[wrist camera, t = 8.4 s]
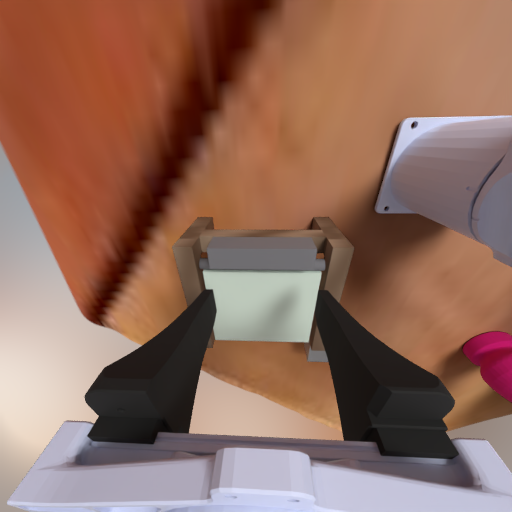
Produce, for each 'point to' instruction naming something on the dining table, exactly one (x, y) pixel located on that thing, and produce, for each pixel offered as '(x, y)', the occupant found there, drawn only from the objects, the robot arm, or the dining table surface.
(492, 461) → the robot arm
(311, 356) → the grey cube
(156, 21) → the dining table surface
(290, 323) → the trapdoor
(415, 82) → the dining table surface
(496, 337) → the pepper mill
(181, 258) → the frame
